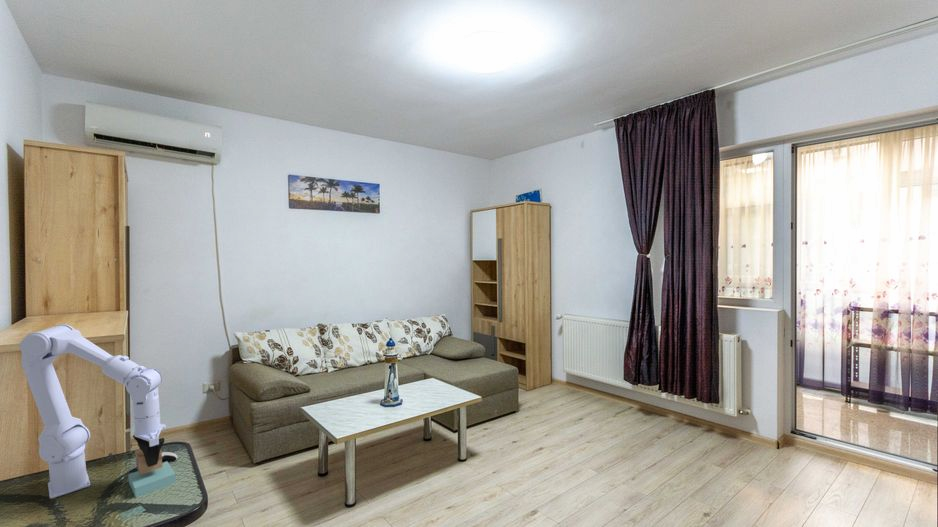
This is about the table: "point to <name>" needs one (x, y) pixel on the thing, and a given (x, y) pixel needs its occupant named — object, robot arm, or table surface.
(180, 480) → the table surface
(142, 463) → the walnut cube
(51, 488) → the robot arm
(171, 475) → the teal box
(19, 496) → the table surface
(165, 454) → the game controller
